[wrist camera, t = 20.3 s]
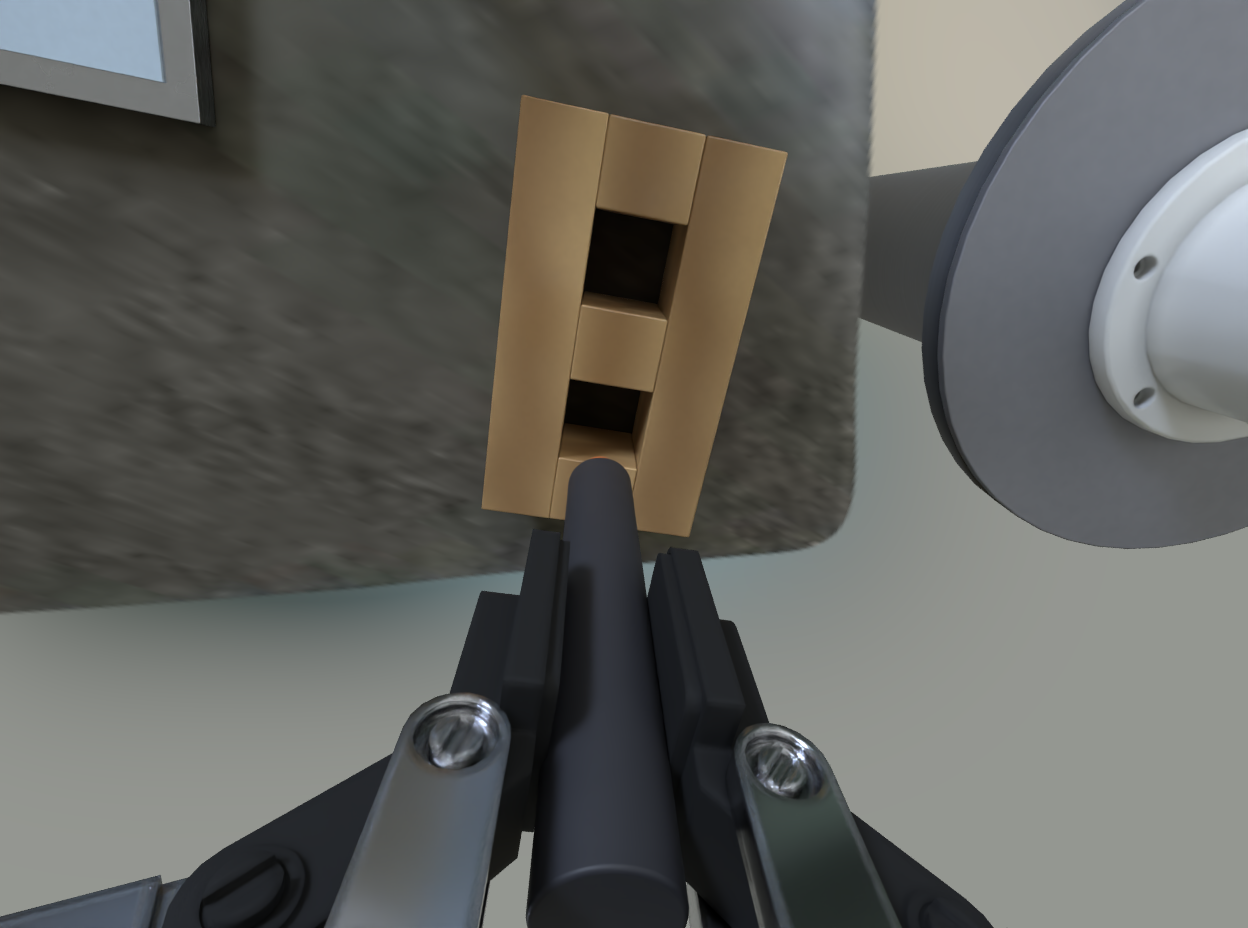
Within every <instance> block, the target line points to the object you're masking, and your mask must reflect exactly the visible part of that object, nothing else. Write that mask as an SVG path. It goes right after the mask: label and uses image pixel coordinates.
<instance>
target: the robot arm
mask: <svg viewBox="0 0 1248 928" xmlns="http://www.w3.org/2000/svg"><path fill="white" fill-rule="evenodd" d="M1089 358H1090V362H1091V366H1092V370H1093V373H1094V377H1095V381H1096V383H1097V385H1098V387H1099V389H1100V390H1101V392H1102V394H1103V396H1104V398H1105V399H1106V401H1107V402H1108V403H1109V404H1110V406H1111V407H1112V408H1113V409H1114V410H1115V411H1116V412H1117V413H1118V414H1119V415H1120V416H1121V417H1122V418H1124V419H1126V420H1128V421H1129V422H1131V423H1133V424H1134V425H1136V426H1138V427H1140V428H1141V429H1144V430H1147V431H1149V432H1152V433H1155V434H1158V435H1160V436H1163V437H1165V438H1168V439H1173V440H1179V441H1185V442H1190V443H1208V442H1223V441H1228V440H1233V439H1238V438H1243V437H1248V129H1246V130H1243V131H1241V132H1239V133H1236V134H1234V135H1232V136H1230V137H1229V138H1227V139H1225V140H1224V141H1222V142H1221V143H1219V144H1217V145H1216V146H1214V147H1212V148H1211V149H1209V150H1207V151H1206V152H1204V153H1202V154H1201V155H1199V156H1198V157H1197V158H1196V159H1194V160H1193V161H1192V162H1191V163H1190V164H1188V165H1187V166H1186V167H1185V168H1183V169H1182V170H1181V171H1180V172H1179V173H1177V174H1176V175H1175V176H1174V177H1172V178H1171V179H1170V180H1169V181H1168V182H1167V183H1166V184H1165V185H1164V186H1163V187H1162V188H1161V189H1160V191H1159V192H1158V193H1157V194H1156V195H1155V196H1154V197H1153V198H1152V199H1151V200H1150V201H1149V202H1148V203H1147V204H1146V205H1145V207H1144V208H1143V209H1142V210H1141V212H1140V213H1139V214H1138V216H1137V217H1136V219H1135V220H1134V221H1133V223H1132V224H1131V225H1130V227H1129V228H1128V230H1127V231H1126V232H1125V234H1124V235H1123V237H1122V238H1121V240H1120V242H1119V243H1118V245H1117V247H1116V249H1115V251H1114V253H1113V255H1112V257H1111V259H1110V261H1109V263H1108V264H1107V266H1106V268H1105V270H1104V273H1103V276H1102V279H1101V281H1100V284H1099V287H1098V290H1097V293H1096V296H1095V299H1094V302H1093V308H1092V314H1091V320H1090V326H1089ZM569 555H570V541H564V540H560V532H552V531H545V530H537V529H533V532H532V537H531V542H530V547H529V552H528V557H527V562H526V567H525V572H524V577H523V582H522V587H521V592H520V595H512V594H504V593H496V592H487V591H481V593H480V596H479V599H478V602H477V605H476V609H475V612H474V615H473V618H472V622H471V625H470V628H469V632H468V635H467V638H466V641H465V644H464V648H463V651H462V655H461V658H460V661H459V664H458V668H457V671H456V674H455V677H454V681H453V684H452V687H451V691H450V694H445V695H442V696H437V697H435V698H433V699H431V700H429V701H428V702H425V703H423V704H422V705H421V706H420V707H419V708H417V709H416V710H415V711H414V712H413V713H412V714H411V715H410V717H409V718H408V720H407V722H406V723H405V725H404V726H403V728H402V731H401V733H400V736H399V739H398V741H397V744H396V746H395V749H394V752H393V753H392V754H390V755H388V756H387V757H385V758H383V759H381V760H380V761H378V762H376V763H374V764H373V765H371V766H369V767H367V768H365V769H364V770H362V771H360V772H359V773H357V774H355V775H353V776H351V777H350V778H348V779H346V780H345V781H343V782H341V783H339V784H337V785H336V786H334V787H332V788H330V789H328V790H327V791H325V792H323V793H321V794H320V795H318V796H316V797H314V798H312V799H311V800H309V801H307V802H305V803H303V804H302V805H300V806H298V807H296V808H295V809H293V810H291V811H289V812H288V813H286V814H284V815H282V816H281V817H279V818H277V819H275V820H273V821H272V822H270V823H268V824H266V825H265V826H263V827H261V828H259V829H257V830H256V831H254V832H252V833H250V834H249V835H247V836H245V837H243V838H242V839H240V840H238V841H236V842H234V843H233V844H231V845H229V846H227V847H226V848H224V849H222V850H221V851H220V852H218V853H217V854H215V855H214V856H212V857H211V858H210V859H208V860H207V861H205V862H204V863H202V864H201V865H200V866H199V867H198V868H197V869H196V870H195V871H194V872H193V874H192V875H191V876H190V877H188V878H185V879H181V880H177V881H173V882H170V883H166V884H162V880H161V875H158V876H155V877H151V878H147V879H143V880H139V881H135V882H132V883H128V884H124V885H120V886H116V887H112V888H108V889H105V890H101V891H97V892H93V893H89V894H86V895H82V896H78V897H74V898H70V899H66V900H62V901H59V902H55V903H51V904H47V905H43V906H39V907H36V908H32V909H28V910H24V911H20V912H16V913H13V914H9V915H5V916H1V917H0V928H483V923H484V917H485V911H486V905H487V899H488V893H489V887H490V880H492V879H493V878H494V877H495V876H496V875H497V874H499V873H500V872H501V871H502V870H503V869H504V868H506V867H507V866H508V865H509V864H511V863H512V862H513V861H514V860H515V859H517V857H518V851H519V845H520V839H521V833H522V831H526V832H534V827H535V817H536V807H537V797H538V787H539V777H540V771H541V767H542V765H543V763H544V760H545V759H546V758H547V755H548V749H549V743H550V738H551V732H552V727H553V721H554V715H555V710H556V704H557V698H558V691H559V684H560V675H561V662H562V649H563V635H564V622H565V609H566V595H567V582H568V568H569ZM647 604H648V611H649V618H650V626H651V633H652V640H653V648H654V655H655V663H656V670H657V677H658V685H659V692H660V699H661V707H662V714H663V721H664V729H665V736H666V743H667V751H668V758H669V765H670V771H671V778H672V785H673V793H674V800H675V807H676V814H677V822H678V829H679V836H680V844H681V851H682V858H683V866H684V873H685V880H686V882H687V885H686V887H687V895H688V902H689V923H690V928H993V926H992V925H991V924H990V923H989V921H988V920H987V919H986V918H985V916H984V915H983V914H982V913H981V912H979V911H978V910H977V909H976V908H975V907H974V906H973V905H972V904H971V903H970V902H968V901H967V900H966V899H965V898H964V897H962V896H961V895H960V894H959V893H957V892H956V891H954V890H953V889H952V888H951V887H949V886H948V885H947V884H945V883H944V882H943V881H941V880H940V879H939V878H938V877H936V876H935V875H934V874H932V873H931V872H930V871H928V870H927V869H925V868H924V867H923V866H922V865H920V864H919V863H918V862H917V861H915V860H914V859H912V858H911V857H910V856H909V855H907V854H906V853H904V852H903V851H902V850H901V849H899V848H898V847H897V846H895V845H894V844H893V843H892V842H890V841H889V840H888V839H886V838H885V837H884V836H882V835H881V834H880V833H878V832H877V831H876V830H874V829H873V828H872V827H870V826H869V825H868V824H867V823H865V822H864V821H863V820H861V819H860V818H859V817H857V816H856V815H855V814H853V813H852V812H851V811H850V809H849V807H848V805H847V803H846V800H845V798H844V796H843V794H842V791H841V789H840V787H839V785H838V782H837V780H836V778H835V775H834V773H833V771H832V769H831V767H830V765H829V763H828V762H827V760H826V758H825V757H824V755H823V754H822V752H821V751H820V750H819V749H818V748H817V747H816V746H815V745H814V744H813V743H812V742H811V741H809V740H808V739H806V738H805V737H804V736H802V735H801V734H800V733H798V732H796V731H793V730H791V729H789V728H787V727H785V726H781V725H777V724H771V723H769V721H768V718H767V715H766V712H765V709H764V706H763V703H762V700H761V697H760V695H759V692H758V689H757V686H756V683H755V680H754V677H753V674H752V671H751V668H750V665H749V663H748V660H747V657H746V654H745V651H744V648H743V645H742V642H741V639H740V636H739V634H738V630H737V628H736V626H735V624H734V623H733V622H732V621H728V620H720V619H719V617H718V614H717V611H716V607H715V604H714V601H713V597H712V594H711V591H710V588H709V584H708V581H707V578H706V575H705V571H704V568H703V565H702V562H701V558H700V555H699V553H698V551H694V550H687V549H680V548H672V547H670V548H669V549H668V552H667V554H663V553H659V554H658V556H657V559H656V563H655V567H654V571H653V575H652V580H651V584H650V588H649V592H648V597H647Z"/></svg>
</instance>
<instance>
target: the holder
mask: <svg viewBox="0 0 1248 928" xmlns="http://www.w3.org/2000/svg"><path fill="white" fill-rule="evenodd" d="M787 156H788V155H787V153H786V152H784V151H779V150H775V149H770V148H766V147H761V146H756V145H752V144H747V143H742V142H738V141H733V140H729V139H724V138H719V137H715V136H710V135H709V136H706V135H704V134H701V133H696V132H692V131H687V130H682V129H678V128H673V127H668V126H664V125H659V124H655V123H650V122H645V121H641V120H636V119H632V118H627V117H622V116H618V115H613V114H611V115H609V114H608V113H605V112H600V111H595V110H591V109H586V108H581V107H577V106H572V105H568V104H563V103H558V102H554V101H549V100H545V99H540V98H535V97H531V96H526V95H522V96H521V104H520V115H519V125H518V136H517V146H516V156H515V167H514V177H513V187H512V198H511V208H510V218H509V229H508V239H507V250H506V260H505V270H504V281H503V291H502V301H501V312H500V322H499V332H498V343H497V353H496V364H495V374H494V384H493V395H492V405H491V415H490V426H489V436H488V446H487V457H486V467H485V478H484V488H483V498H482V509H487V510H494V511H501V512H508V513H515V514H522V515H530V516H537V517H544V518H549V517H550V518H553V519H560V520H565V513H566V503H567V493H568V483H569V478H570V476H571V474H572V472H573V470H574V469H575V468H576V467H577V466H578V465H579V464H581V463H582V462H584V461H586V460H588V459H591V458H593V457H606V458H609V459H611V460H614V461H616V462H618V463H619V464H621V465H622V466H623V467H624V468H625V469H626V471H627V472H628V474H629V476H630V480H631V486H632V493H633V500H634V508H635V515H636V522H637V530H640V531H647V532H654V533H661V534H668V535H675V536H683V537H689V536H690V532H691V528H692V524H693V520H694V516H695V512H696V508H697V505H698V501H699V497H700V493H701V489H702V485H703V481H704V477H705V474H706V470H707V466H708V462H709V458H710V454H711V450H712V446H713V443H714V439H715V435H716V431H717V427H718V423H719V419H720V415H721V412H722V408H723V404H724V400H725V396H726V392H727V388H728V384H729V380H730V377H731V373H732V369H733V365H734V361H735V357H736V353H737V349H738V346H739V342H740V338H741V334H742V330H743V326H744V322H745V318H746V315H747V311H748V307H749V303H750V299H751V295H752V291H753V287H754V284H755V280H756V276H757V272H758V268H759V264H760V260H761V256H762V252H763V249H764V245H765V241H766V237H767V233H768V229H769V225H770V221H771V218H772V214H773V210H774V206H775V202H776V198H777V194H778V190H779V187H780V183H781V179H782V175H783V171H784V167H785V163H786V159H787ZM596 208H597V209H598V210H603V211H608V212H613V213H618V214H623V215H628V216H633V217H639V218H644V219H649V220H654V221H659V222H664V223H669V224H674V225H673V230H672V235H671V240H670V245H669V250H668V255H667V260H666V265H665V270H664V275H663V280H662V285H661V290H660V295H659V300H658V305H657V304H655V303H649V302H644V301H638V300H633V299H627V298H622V297H616V296H611V295H605V294H600V293H594V292H589V291H584V285H585V278H586V271H587V265H588V258H589V251H590V244H591V238H592V231H593V224H594V217H595V211H596ZM583 291H584V292H583ZM570 379H573V380H579V381H585V382H591V383H597V384H603V385H609V386H615V387H621V388H627V389H633V390H639V391H640V396H639V401H638V406H637V411H636V416H635V421H634V426H633V431H632V434H631V433H626V432H619V431H613V430H606V429H600V428H594V427H587V426H581V425H575V424H568V423H564V419H565V412H566V406H567V399H568V392H569V385H570Z"/></svg>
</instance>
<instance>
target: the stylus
mask: <svg viewBox="0 0 1248 928" xmlns="http://www.w3.org/2000/svg"><path fill="white" fill-rule="evenodd" d="M563 540H564V541H570V555H569V568H568V582H567V595H566V609H565V622H564V635H563V649H562V662H561V675H560V684H559V691H558V698H557V704H556V710H555V715H554V721H553V727H552V732H551V738H550V743H549V749H548V755H547V758H546V759H545V760H544V763H543V765H542V767H541V771H540V777H539V787H538V797H537V807H536V817H535V828H534V838H533V848H532V859H531V869H530V879H529V889H528V899H527V909H526V922H527V927H528V928H685V927H686V924H687V920H688V916H689V902H688V895H687V887H686V880H685V873H684V866H683V858H682V851H681V844H680V836H679V829H678V822H677V814H676V807H675V800H674V793H673V785H672V778H671V771H670V765H669V758H668V751H667V743H666V736H665V729H664V721H663V714H662V707H661V699H660V692H659V685H658V677H657V670H656V663H655V655H654V648H653V640H652V633H651V626H650V618H649V611H648V604H647V595H646V589H645V581H644V574H643V566H642V559H641V552H640V544H639V537H638V530H637V522H636V515H635V508H634V500H633V493H632V486H631V480H630V476H629V474H628V472H627V471H626V469H625V468H624V467H623V466H622V465H621V464H619V463H618V462H616V461H614V460H611V459H609V458H606V457H593V458H591V459H588V460H586V461H584V462H582V463H581V464H579V465H578V466H577V467H576V468H575V469H574V470H573V472H572V474H571V476H570V478H569V483H568V493H567V503H566V513H565V523H564V533H563Z"/></svg>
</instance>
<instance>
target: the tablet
mask: <svg viewBox="0 0 1248 928" xmlns="http://www.w3.org/2000/svg"><path fill="white" fill-rule="evenodd" d="M0 85H5V86H10V87H15V88H20V89H25V90H30V91H35V92H40V93H45V94H50V95H55V96H60V97H65V98H70V99H75V100H80V101H86V102H91V103H96V104H101V105H106V106H111V107H116V108H121V109H126V110H131V111H136V112H141V113H146V114H151V115H156V116H161V117H166V118H171V119H176V120H181V121H186V122H191V123H196V124H201V125H206V126H211V127H215V126H216V125H215V112H214V100H213V87H212V75H211V62H210V50H209V37H208V25H207V12H206V0H0Z"/></svg>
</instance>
